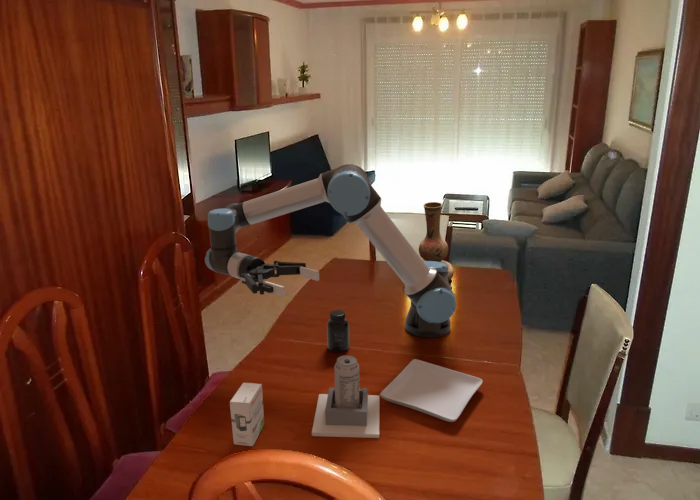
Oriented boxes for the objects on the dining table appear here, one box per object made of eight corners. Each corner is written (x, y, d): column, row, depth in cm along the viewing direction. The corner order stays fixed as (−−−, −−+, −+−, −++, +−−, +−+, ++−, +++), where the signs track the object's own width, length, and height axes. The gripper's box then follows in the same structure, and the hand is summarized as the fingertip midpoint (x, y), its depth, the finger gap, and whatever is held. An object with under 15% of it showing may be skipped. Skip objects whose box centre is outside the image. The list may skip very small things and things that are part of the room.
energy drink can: (356, 404, 137) (356, 352, 132) (361, 418, 131) (361, 365, 127) (333, 407, 136) (332, 355, 131) (337, 421, 130) (336, 367, 126)
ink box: (246, 422, 132) (242, 380, 128) (265, 424, 131) (262, 382, 128) (232, 444, 124) (228, 401, 121) (253, 447, 123) (249, 403, 120)
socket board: (379, 398, 141) (379, 382, 140) (379, 437, 126) (379, 420, 124) (319, 397, 142) (318, 380, 140) (311, 436, 127) (311, 418, 125)
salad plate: (455, 431, 129) (455, 419, 127) (377, 404, 139) (377, 393, 138) (483, 389, 146) (484, 378, 144) (413, 368, 156) (413, 357, 155)
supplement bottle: (352, 345, 169) (352, 310, 165) (343, 355, 163) (343, 319, 159) (333, 340, 172) (332, 306, 168) (323, 350, 166) (322, 315, 162)
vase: (390, 289, 212) (392, 203, 201) (417, 273, 229) (419, 192, 218) (444, 303, 199) (449, 212, 188) (468, 284, 216) (474, 200, 205)
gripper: (278, 267, 165) (331, 282, 152) (214, 293, 146) (268, 312, 134) (277, 244, 163) (330, 257, 150) (211, 268, 144) (266, 285, 131)
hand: (301, 283), depth 142 cm, fingers open, 13 cm apart
